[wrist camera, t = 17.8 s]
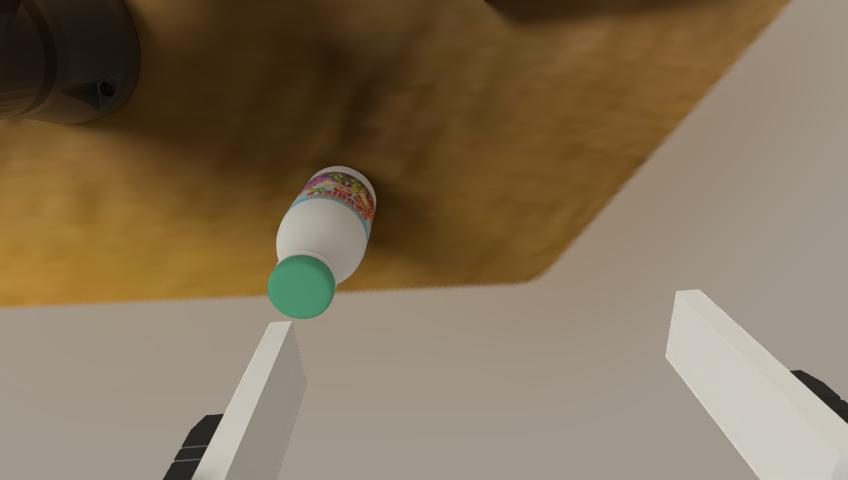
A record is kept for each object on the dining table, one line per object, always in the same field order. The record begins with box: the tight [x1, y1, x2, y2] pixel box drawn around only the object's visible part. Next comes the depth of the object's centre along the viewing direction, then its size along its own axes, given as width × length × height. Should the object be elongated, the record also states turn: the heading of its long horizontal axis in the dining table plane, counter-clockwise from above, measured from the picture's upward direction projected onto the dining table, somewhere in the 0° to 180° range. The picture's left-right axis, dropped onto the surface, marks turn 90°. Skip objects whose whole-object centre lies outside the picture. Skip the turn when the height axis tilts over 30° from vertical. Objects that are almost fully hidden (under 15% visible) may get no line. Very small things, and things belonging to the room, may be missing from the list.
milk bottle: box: [268, 166, 376, 319], centre depth 41 cm, size 8×8×20 cm
